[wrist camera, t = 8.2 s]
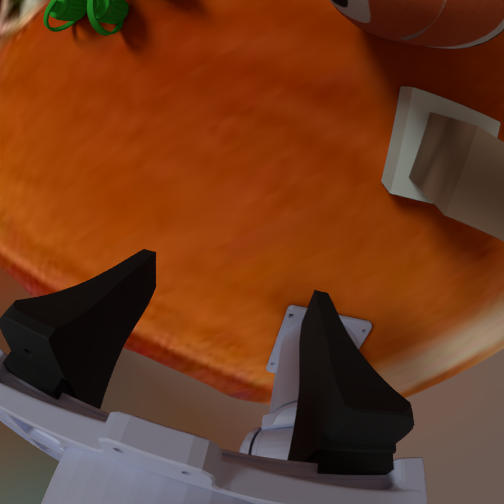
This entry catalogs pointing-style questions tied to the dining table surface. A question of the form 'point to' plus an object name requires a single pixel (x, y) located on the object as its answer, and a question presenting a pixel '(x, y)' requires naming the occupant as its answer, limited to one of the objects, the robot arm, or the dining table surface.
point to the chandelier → (97, 7)
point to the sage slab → (421, 135)
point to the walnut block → (462, 173)
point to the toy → (427, 20)
